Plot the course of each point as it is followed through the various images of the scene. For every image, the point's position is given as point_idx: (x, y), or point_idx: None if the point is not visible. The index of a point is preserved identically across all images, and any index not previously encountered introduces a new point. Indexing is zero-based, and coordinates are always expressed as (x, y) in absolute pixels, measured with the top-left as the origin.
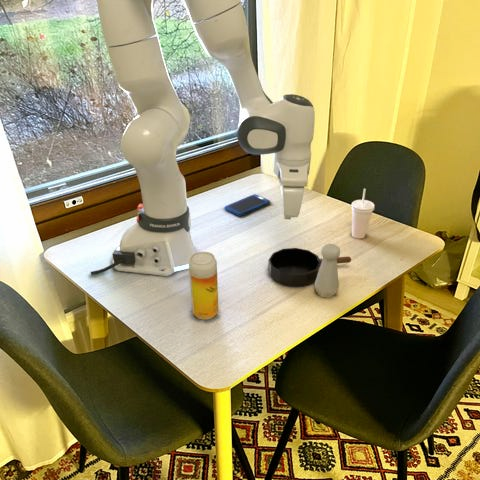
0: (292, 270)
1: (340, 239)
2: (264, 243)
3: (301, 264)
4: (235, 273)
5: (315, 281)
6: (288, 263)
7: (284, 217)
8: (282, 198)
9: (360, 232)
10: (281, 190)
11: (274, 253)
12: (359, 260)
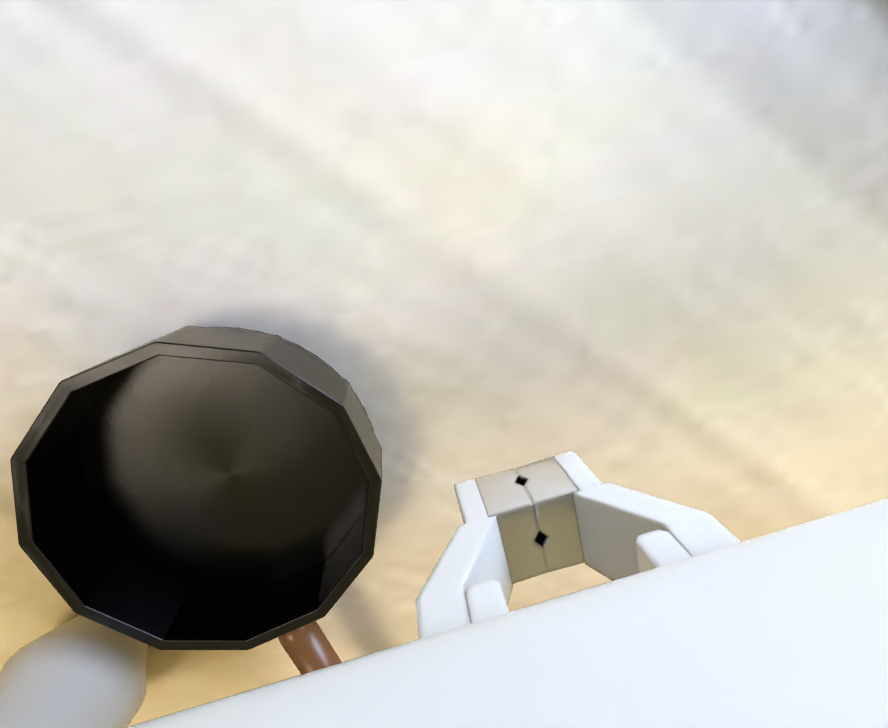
0: (231, 464)
1: None
2: (525, 222)
3: (315, 495)
4: (77, 106)
5: (62, 646)
6: (301, 426)
7: (456, 490)
8: (457, 724)
9: None
10: (879, 588)
11: (256, 363)
12: None
